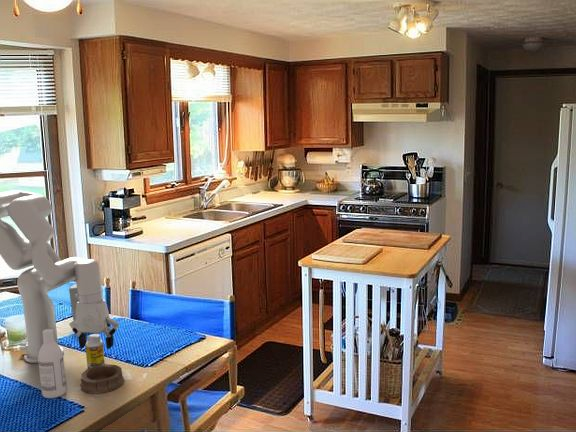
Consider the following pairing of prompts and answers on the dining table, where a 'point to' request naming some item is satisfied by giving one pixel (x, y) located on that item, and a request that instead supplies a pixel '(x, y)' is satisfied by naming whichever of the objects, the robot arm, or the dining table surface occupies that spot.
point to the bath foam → (51, 367)
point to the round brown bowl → (101, 379)
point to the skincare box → (73, 299)
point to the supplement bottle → (94, 351)
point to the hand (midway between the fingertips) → (96, 346)
